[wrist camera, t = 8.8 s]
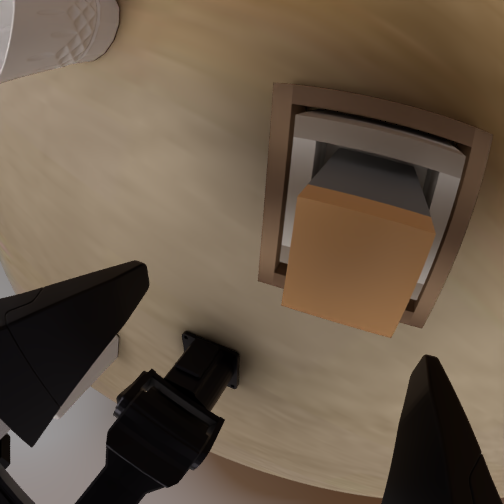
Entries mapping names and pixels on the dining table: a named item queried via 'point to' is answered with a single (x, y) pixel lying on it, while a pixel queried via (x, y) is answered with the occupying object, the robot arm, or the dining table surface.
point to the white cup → (53, 34)
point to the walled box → (380, 145)
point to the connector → (358, 242)
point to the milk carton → (91, 375)
